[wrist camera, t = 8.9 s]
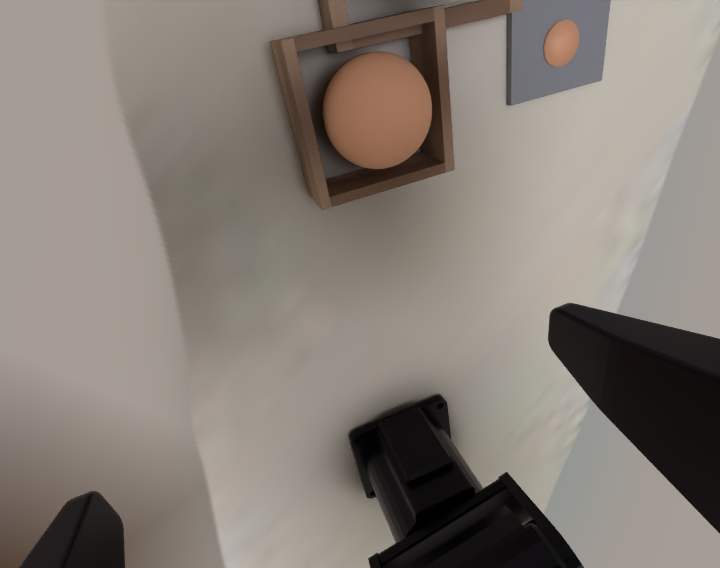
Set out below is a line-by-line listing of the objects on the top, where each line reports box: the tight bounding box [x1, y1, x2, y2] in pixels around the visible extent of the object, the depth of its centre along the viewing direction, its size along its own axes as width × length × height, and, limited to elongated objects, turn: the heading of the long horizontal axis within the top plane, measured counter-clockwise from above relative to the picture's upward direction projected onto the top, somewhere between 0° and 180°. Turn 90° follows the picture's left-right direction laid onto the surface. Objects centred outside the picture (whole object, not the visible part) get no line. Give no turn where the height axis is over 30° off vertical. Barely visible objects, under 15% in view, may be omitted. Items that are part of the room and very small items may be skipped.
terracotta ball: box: [323, 52, 432, 169], centre depth 16 cm, size 4×4×4 cm
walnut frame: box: [270, 5, 454, 210], centre depth 17 cm, size 6×6×2 cm
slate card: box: [507, 0, 611, 105], centre depth 18 cm, size 7×5×1 cm
